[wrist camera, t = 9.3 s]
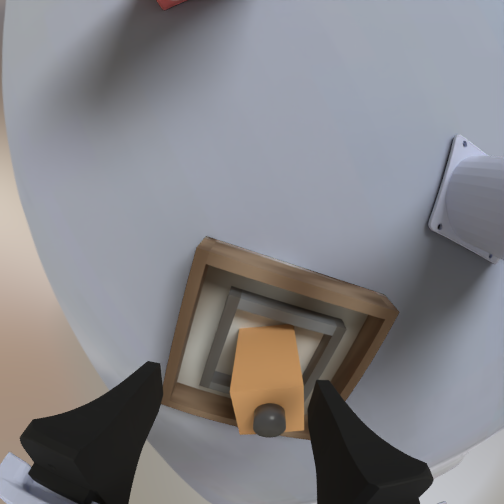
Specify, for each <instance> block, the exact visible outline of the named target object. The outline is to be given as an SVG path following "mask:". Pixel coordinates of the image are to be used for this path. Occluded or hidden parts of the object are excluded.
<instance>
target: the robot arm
mask: <svg viewBox="0 0 504 504" xmlns="http://www.w3.org/2000/svg"><path fill="white" fill-rule="evenodd" d="M463 142H464V146H463ZM439 224H440V228H439V229H438V228H437V227H438V225H439ZM428 227H429V229H431V230H432V231H434V232H436V233H438V234H440V235H442V236H444V237H446V238H448V239H450V240H452V241H454V242H456V243H457V244H459V245H461V246H463V247H465V248H467V249H468V250H470V251H472V252H474V253H476V254H477V255H479V256H481V257H483V258H484V259H486V260H488V261H490V262H491V263H493V264H497V263H498V261H499V259H502V260H504V156H488V155H487V154H486V153H484V152H483V151H482V150H480V149H479V148H478V147H477V146H475V145H474V144H473V143H471V142H470V141H469V140H467V139H466V138H464V137H463V136H462V135H455V136H454V139H453V143H452V147H451V151H450V155H449V159H448V163H447V166H446V170H445V173H444V177H443V180H442V183H441V187H440V190H439V193H438V196H437V199H436V202H435V205H434V208H433V211H432V214H431V216H430V219H429V222H428ZM489 254H490V256H489ZM162 398H163V386H162V377H161V368H160V363H155V362H150V361H148V362H146V363H145V364H144V365H142V366H141V367H140V368H139V369H138V370H136V371H135V372H134V373H133V374H132V375H130V376H129V377H128V378H127V379H125V380H124V381H123V382H121V383H120V384H119V385H117V386H116V387H114V388H113V389H112V390H110V391H109V392H107V393H106V394H104V395H102V396H101V397H99V398H97V399H95V400H94V401H92V402H90V403H88V404H85V405H83V406H81V407H78V408H76V409H74V410H71V411H68V412H65V413H62V414H58V415H54V416H50V417H45V418H39V419H34V420H32V422H31V423H30V424H29V425H28V427H27V428H26V430H25V431H24V432H23V434H22V435H21V437H20V441H21V444H22V446H23V448H24V449H25V450H26V452H27V453H28V455H29V456H30V457H31V458H32V460H33V461H34V464H33V466H32V467H31V466H30V465H29V464H28V463H26V462H25V461H23V460H22V459H20V458H19V457H17V456H15V455H14V454H12V453H10V452H9V453H8V454H7V455H6V457H5V458H4V460H3V461H2V463H1V464H0V498H1V499H2V500H3V501H4V502H5V503H6V504H128V502H129V497H130V492H131V488H132V483H133V479H134V475H135V471H136V467H137V464H138V460H139V457H140V454H141V451H142V448H143V445H144V443H145V441H146V439H147V436H148V434H149V432H150V430H151V428H152V425H153V423H154V421H155V419H156V416H157V414H158V412H159V408H160V405H161V402H162ZM307 412H308V428H309V434H310V439H311V444H312V450H313V455H314V460H315V466H316V477H317V504H420V501H419V497H420V496H421V495H422V494H423V493H424V492H425V491H426V490H427V489H428V488H429V487H430V486H431V484H432V482H433V480H434V479H433V477H432V474H431V471H430V469H429V467H428V465H427V463H425V462H422V461H420V460H418V459H415V458H413V457H411V456H409V455H407V454H405V453H403V452H401V451H399V450H398V449H396V448H395V447H393V446H391V445H390V444H389V443H387V442H386V441H384V440H383V439H381V438H380V437H379V436H378V435H376V434H375V433H374V432H373V431H372V430H371V429H369V428H368V427H367V426H366V425H365V424H364V423H363V422H362V421H361V420H360V419H359V418H358V416H357V415H356V414H355V413H354V412H353V411H352V410H351V408H350V407H349V406H348V405H347V403H346V402H345V401H344V400H343V398H342V397H341V396H340V394H339V393H338V392H337V390H336V389H335V387H334V386H333V385H332V383H331V382H330V381H329V380H316V382H315V386H314V389H313V393H312V396H311V399H310V403H309V406H308V409H307ZM438 504H447V503H446V502H445V501H443V502H440V503H438Z"/></svg>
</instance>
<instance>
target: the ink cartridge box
mask: <svg viewBox="0 0 504 504" xmlns="http://www.w3.org/2000/svg"><path fill="white" fill-rule="evenodd" d="M156 1H157V2H158V4H159V5H160V6H161V8H162V9H163V10H167V9H168V8H170V7H173V6H175V5H177V4H180V3H182V2H184V1H187V0H156Z"/></svg>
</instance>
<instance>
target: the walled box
mask: <svg viewBox="0 0 504 504" xmlns="http://www.w3.org/2000/svg"><path fill="white" fill-rule="evenodd" d="M398 314H399V311H398V310H397V309H396V308H395V306H394V305H393V304H392V303H391V302H390V301H389V299H388V298H387V297H386V296H385V295H384V294H381V293H378V292H375V291H372V290H369V289H366V288H363V287H360V286H357V285H354V284H351V283H347V282H344V281H341V280H338V279H335V278H332V277H329V276H326V275H323V274H320V273H317V272H314V271H311V270H308V269H305V268H302V267H299V266H296V265H293V264H290V263H287V262H284V261H280V260H277V259H274V258H271V257H268V256H265V255H262V254H259V253H256V252H253V251H250V250H247V249H244V248H241V247H238V246H235V245H232V244H229V243H226V242H223V241H219V240H216V239H213V238H210V237H207V236H206V237H205V238H204V239H203V240H202V242H201V243H200V244H199V245H198V246H197V248H196V251H195V255H194V259H193V262H192V266H191V270H190V274H189V277H188V281H187V285H186V289H185V293H184V297H183V300H182V304H181V308H180V312H179V317H178V321H177V325H176V329H175V333H174V338H173V342H172V346H171V351H170V355H169V360H168V364H167V369H166V373H165V378H164V383H163V398H162V402H161V404H163V405H166V406H168V407H171V408H174V409H177V410H180V411H183V412H186V413H190V414H193V415H196V416H199V417H203V418H206V419H210V420H213V421H217V422H221V423H225V424H229V425H233V426H237V427H238V425H237V421H236V416H235V412H234V408H233V404H232V399H231V395H230V386H231V380H232V373H233V366H234V360H235V353H236V347H237V340H238V333H239V328H250V327H262V326H274V325H284V324H290V325H294V331H295V337H296V343H297V348H298V354H299V360H300V366H301V373H302V379H303V385H304V430H302V431H292V432H284V433H282V434H281V435H280V436H286V437H293V438H299V439H307V440H311V439H310V434H309V428H308V412H307V409H308V406H309V403H310V399H311V396H312V393H313V389H314V386H315V382H316V380H329V381H330V382H331V383H332V385H333V386H334V387H335V389H336V390H337V392H338V393H339V394H340V396H341V397H342V398H343V400H344V401H346V399H347V398H348V396H349V395H350V394H351V392H352V391H353V389H354V388H355V386H356V385H357V383H358V382H359V380H360V379H361V377H362V376H363V374H364V372H365V371H366V369H367V368H368V366H369V365H370V363H371V361H372V360H373V358H374V356H375V355H376V353H377V351H378V350H379V348H380V346H381V345H382V343H383V341H384V339H385V338H386V336H387V334H388V332H389V330H390V329H391V327H392V325H393V323H394V321H395V319H396V317H397V316H398Z"/></svg>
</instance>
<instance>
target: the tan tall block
mask: <svg viewBox="0 0 504 504" xmlns="http://www.w3.org/2000/svg"><path fill="white" fill-rule="evenodd" d="M230 395H231V399H232V404H233V408H234V412H235V416H236V421H237V425H238V429H239V433H240V435H242V434H258V435H259V436H262V437H276V436H279V435H281V434H282V433H284V432H292V431H302V430H304V385H303V379H302V373H301V366H300V360H299V354H298V348H297V343H296V337H295V331H294V325H290V324H284V325H274V326H262V327H250V328H239V333H238V340H237V347H236V353H235V360H234V366H233V373H232V380H231V386H230Z"/></svg>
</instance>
